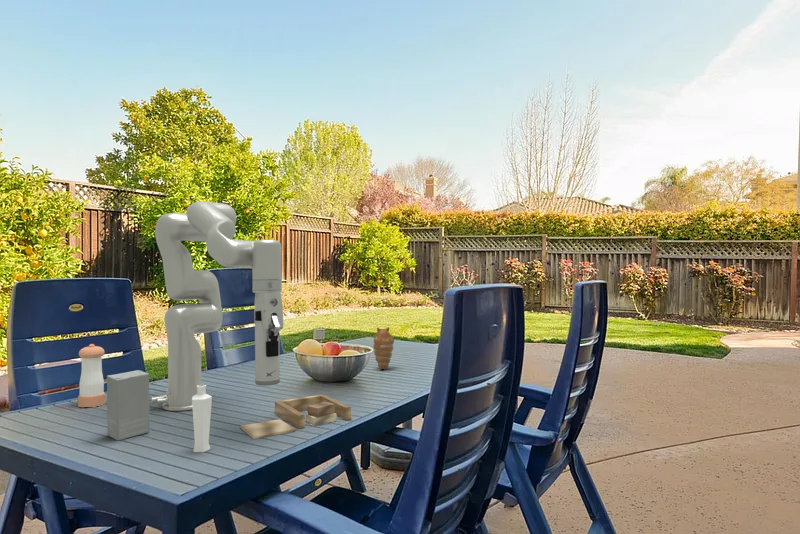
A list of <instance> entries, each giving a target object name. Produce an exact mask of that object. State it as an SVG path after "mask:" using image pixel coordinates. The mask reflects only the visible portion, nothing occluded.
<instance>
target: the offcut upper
mask: <svg viewBox="0 0 800 534" xmlns="http://www.w3.org/2000/svg"><path fill="white" fill-rule="evenodd" d="M307 413H308V415H310V416H313V417H317V418H319V417H322V416H326V415H329V414H333V413H335V404H333V403H328V402H321V403H317V404H313V405H309V406H308V410H307Z"/></svg>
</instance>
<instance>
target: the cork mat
mask: <svg viewBox="0 0 800 534" xmlns="http://www.w3.org/2000/svg"><path fill="white" fill-rule="evenodd" d="M239 428H240V429H241V430H242V431H243V432H245V434H247V435H248V436H249V437H250V438H252V439H253V440H255V439H257V440H258V439H262V438H266V437H272V436H277V435H283V434H287V433H289V434H290V433H294V432H296V428H294V427H293V426H291V425H289V424H288V423H286V422H285V421H284V420H282V419H280V418H279V419H273V420H267V421H262V422H254V423H250V424H244V425H243V424H242V425H240V427H239Z"/></svg>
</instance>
